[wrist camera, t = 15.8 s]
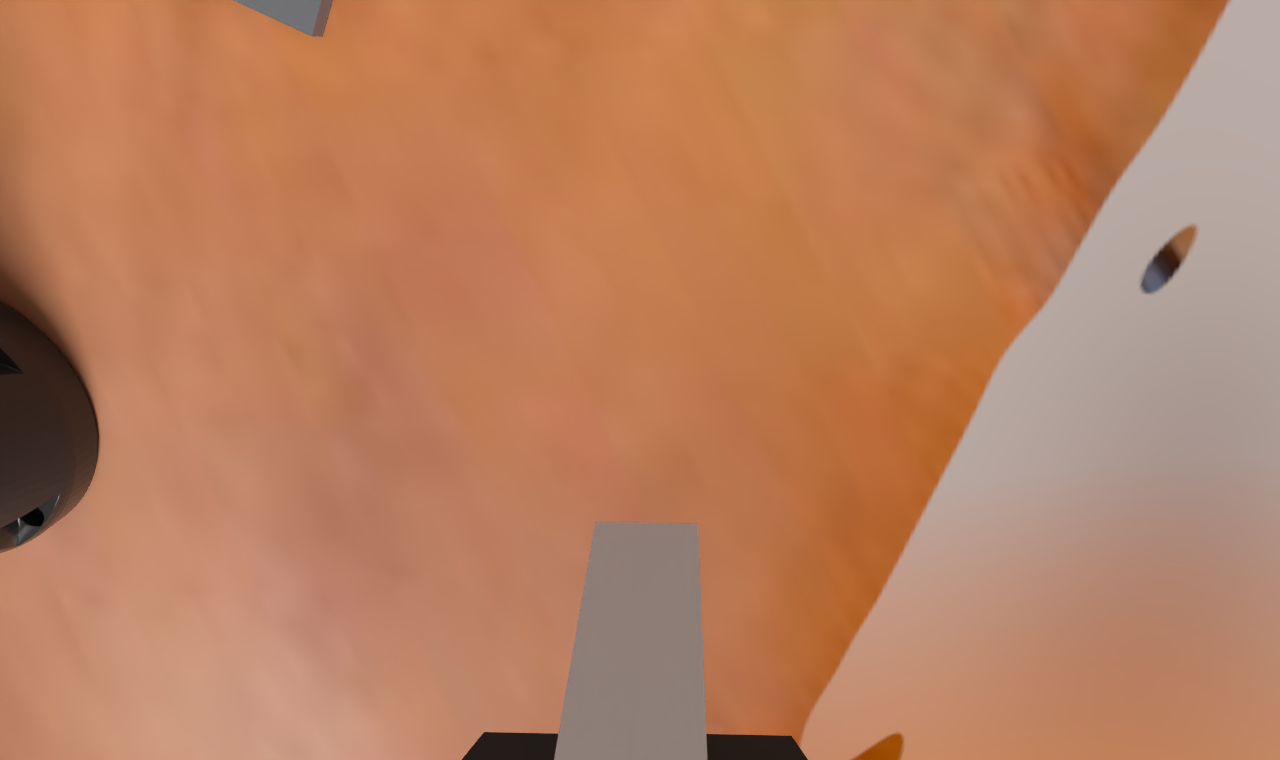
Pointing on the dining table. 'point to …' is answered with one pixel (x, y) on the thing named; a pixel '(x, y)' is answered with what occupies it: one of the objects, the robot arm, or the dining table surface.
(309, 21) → the switch block
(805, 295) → the dining table surface
